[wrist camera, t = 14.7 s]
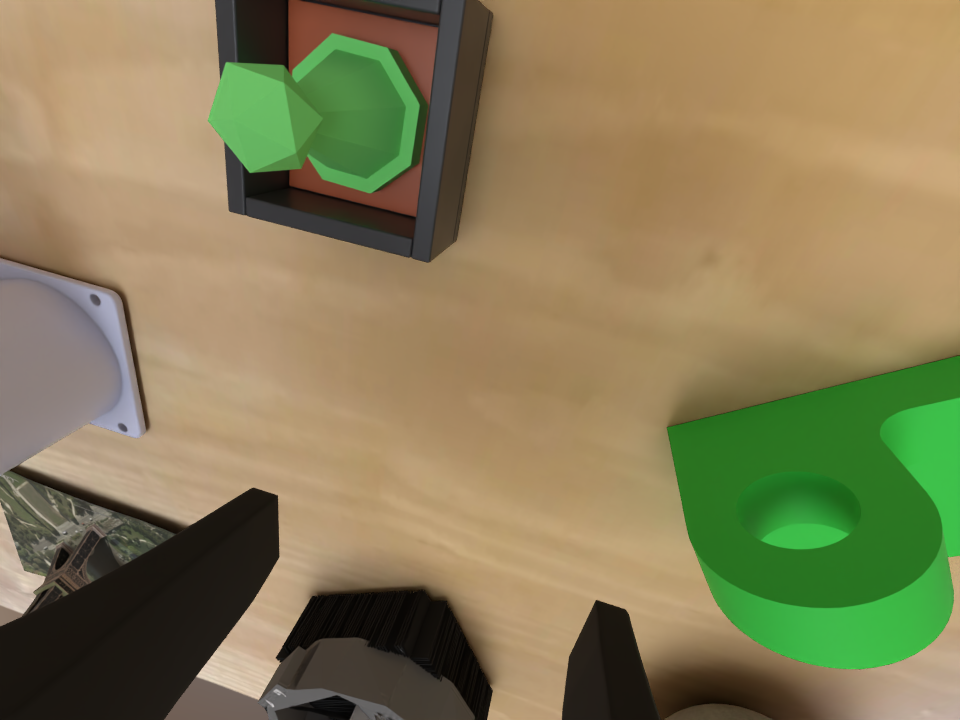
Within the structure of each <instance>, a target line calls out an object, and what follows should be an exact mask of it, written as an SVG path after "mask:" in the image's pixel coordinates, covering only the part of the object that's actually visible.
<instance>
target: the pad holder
mask: <svg viewBox="0 0 960 720" xmlns="http://www.w3.org/2000/svg"><path fill="white" fill-rule="evenodd" d="M215 7H216V22H217V37H218V53H219V68H220V80H221V76H222V73H223V70H224V67H225V64H226V62H233V63H252V64H271V65H284V66H285V68H286V69H287V70H288V72H289V73H290V74H291V76H292V71H293V69H294V68H295V67H296V66H297V65H298V64H300V63H301V62H302V61H303V60H304V59H305V58H306V57H307V56H308V55H309V54H310V53H311V52H312V51H314V50H315V49H316V48H317V47H318V46H319V45H320V44H321V43H322V42H323V41H324V40H325V39H326V38H328V37H329V36H330V35H331V34H332V33H334V34H338V35H341V36H345V37H349V38H353V39H357V40H360V41H364V42H368V43H372V44H375V45H379V46H383V47H387V48H390V49H393V50H396V51H398V53H399V54H400V56H401V58H402V60H403V61H404V63H405V65H406V67H407V69H408V70H409V72H410V74H411V76H412V77H413V79H414V81H415V83H416V85H417V86H418V88H419V90H420V92H421V93H422V95H423V97H424V99H425V101H426V102H427V104H428V111H427V117H426V123H425V130H424V136H423V142H422V149H421V155H420V161H419V164H417V165H416V166H414V167H413V168H411V169H410V170H409V171H407V172H406V173H404V174H403V175H401V176H400V177H399V178H397V179H396V180H394V181H393V182H391V183H390V184H389V185H387V186H386V187H384V188H383V189H382V190H380V191H377V192H374V193H371V194H370V193H367V192H363V191H360V190H357V189H353V188H350V187H346V186H343V185H340V184H336V183H333V182H329V181H326V180H323V179H322V178H321V176H320V175H319V173H318V172H317V170H316V169H315V167H314V166H313V164H312V163H311V161H310V160H309V158H308V157H306V159H305V162H304V164H303V166H302V168H301V169H293V170H280V171H268V172H255V173H250V172H249V171H248V170H247V169H246V167H245V166H244V165H243V164H242V162H241V161H240V160H239V159H238V158H237V156H236V155H235V154H234V153H233V151H232V150H231V149H230V148H229V146H228V145H227V144H226V143H225V141H224V144H225V160H226V175H227V190H228V205H229V211H230V212H233V213H237V214H241V215H247V216H249V217H253V218H256V219H260V220H264V221H268V222H272V223H276V224H280V225H284V226H288V227H291V228H295V229H299V230H303V231H307V232H311V233H315V234H319V235H323V236H326V237H330V238H334V239H338V240H342V241H346V242H350V243H354V244H358V245H361V246H365V247H369V248H373V249H377V250H381V251H385V252H389V253H393V254H396V255H400V256H404V257H408V258H410V257H412V258H413V259H416V260H420V261H424V262H427V263H428V262H431V261H432V260H433V259H434V258H435V257H437V256H438V255H439V254H440V253H442V252H443V251H444V250H445V249H446V248H448V247H449V246H450V245H451V244H452V243H454V242H455V241H456V240H457V234H458V228H459V222H460V215H461V209H462V203H463V197H464V191H465V185H466V178H467V172H468V166H469V160H470V154H471V148H472V141H473V135H474V129H475V123H476V117H477V111H478V104H479V98H480V92H481V86H482V80H483V74H484V67H485V61H486V55H487V49H488V43H489V37H490V30H491V24H492V18H493V13H492V12H491V11H490V10H488V9H487V8H486V7H485V6H484V5H483V4H482V3H481V2H480V1H478V0H215Z"/></svg>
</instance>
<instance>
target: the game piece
mask: <svg viewBox="0 0 960 720" xmlns="http://www.w3.org/2000/svg"><path fill="white" fill-rule="evenodd" d="M427 111H428V104H427V102H426V101H425V99H424V97H423V95H422V93H421V92H420V90H419V88H418V86H417V85H416V83H415V81H414V79H413V77H412V76H411V74H410V72H409V70H408V69H407V67H406V65H405V63H404V61H403V60H402V58H401V56H400V54H399V53H398V51H396V50H393V49H390V48H387V47H383V46H379V45H375V44H372V43H368V42H364V41H360V40H357V39H353V38H349V37H345V36H341V35H338V34H334V33H332V34H331V35H330V36H329V37H328V38H326V39H325V40H324V41H323V42H322V43H321V44H320V45H319V46H318V47H317V48H316V49H315V50H314V51H312V52H311V53H310V54H309V55H308V56H307V57H306V58H305V59H304V60H303V61H302V62H301V63H300V64H298V65H297V66H296V67H295V68H294V69H293V71H292V76H291V74H290V73H289V72H288V70H287V69H286V68H285V66H284V65H271V64H252V63H233V62H226V64H225V67H224V70H223V73H222V76H221V80H220V83H219V86H218V89H217V93H216V96H215V99H214V102H213V105H212V109H211V112H210V115H209V118H208V122H209V123H210V124H211V125H212V127H213V128H214V129H215V130H216V132H217V133H218V134H219V135H220V137H221V138H222V139H223V140H224V141H225V143H226V144H227V145H228V146H229V148H230V149H231V150H232V151H233V153H234V154H235V155H236V156H237V158H238V159H239V160H240V161H241V162H242V164H243V165H244V166H245V167H246V169H247V170H248V171H249V172H250V173H255V172H268V171H280V170H293V169H301V168H302V166H303V164H304V162H305V159H306V157H308V158H309V160H310V161H311V163H312V164H313V166H314V167H315V169H316V170H317V172H318V173H319V175H320V176H321V178H322V179H323V180H326V181H329V182H333V183H336V184H340V185H343V186H346V187H350V188H353V189H357V190H360V191H363V192H367V193H370V194H371V193H374V192H377V191H380V190H382V189H383V188H384V187H386V186H387V185H389V184H390V183H391V182H393V181H394V180H396V179H397V178H399V177H400V176H401V175H403V174H404V173H406V172H407V171H409V170H410V169H411V168H413V167H414V166H416V165H417V164H419V161H420V155H421V149H422V142H423V136H424V130H425V123H426V117H427Z"/></svg>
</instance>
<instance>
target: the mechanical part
mask: <svg viewBox="0 0 960 720" xmlns="http://www.w3.org/2000/svg"><path fill="white" fill-rule="evenodd" d="M667 430H668V435H669V440H670V445H671V450H672V456H673V461H674V466H675V471H676V476H677V481H678V486H679V491H680V496H681V501H682V506H683V511H684V516H685V521H686V526H687V531H688V535H689V538H690V541H691V543H692V546H693V548H694V551H695V553H696V556H697V558H698V561H699V563H700V566H701V568H702V571H703V573H704V576H705V578H706V581H707V583H708V586H709V588H710V590H711V593H712V595H713V597H714V599H715V601H716V603H717V604H718V606H719V607H720V609H721V610H722V612H723V613H724V614H725V615H726V616H727V618H728V619H729V620H730V621H731V622H732V623H733V624H734V625H735V626H736V627H737V628H738V629H740V630H741V631H742V632H743V633H745V634H746V635H747V636H749V637H750V638H751V639H753V640H754V641H756V642H758V643H759V644H761V645H763V646H765V647H766V648H768V649H770V650H772V651H774V652H777V653H779V654H781V655H783V656H786V657H789V658H792V659H795V660H798V661H801V662H805V663H808V664H812V665H817V666H823V667H829V668H839V669H866V668H874V667H879V666H884V665H889V664H892V663H895V662H898V661H901V660H904V659H906V658H908V657H910V656H912V655H915V654H916V653H918V652H919V651H921V650H923V649H924V648H926V647H927V646H928V645H929V644H931V643H932V642H933V641H934V640H935V639H936V638H937V637H938V636H939V634H940V633H941V632H942V631H943V629H944V628H945V626H946V624H947V623H948V621H949V618H950V615H951V613H952V608H953V603H954V590H953V584H952V579H951V573H950V567H949V562H948V557H953V556H960V356H956V357H952V358H948V359H944V360H940V361H936V362H931V363H927V364H923V365H919V366H915V367H911V368H907V369H903V370H899V371H895V372H891V373H887V374H883V375H879V376H875V377H870V378H866V379H862V380H858V381H854V382H850V383H846V384H842V385H838V386H834V387H830V388H826V389H822V390H818V391H813V392H809V393H805V394H801V395H797V396H793V397H789V398H785V399H781V400H777V401H773V402H769V403H765V404H761V405H757V406H752V407H748V408H744V409H740V410H736V411H732V412H728V413H724V414H720V415H716V416H712V417H708V418H704V419H700V420H696V421H691V422H687V423H683V424H679V425H675V426H671V427H667Z"/></svg>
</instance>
